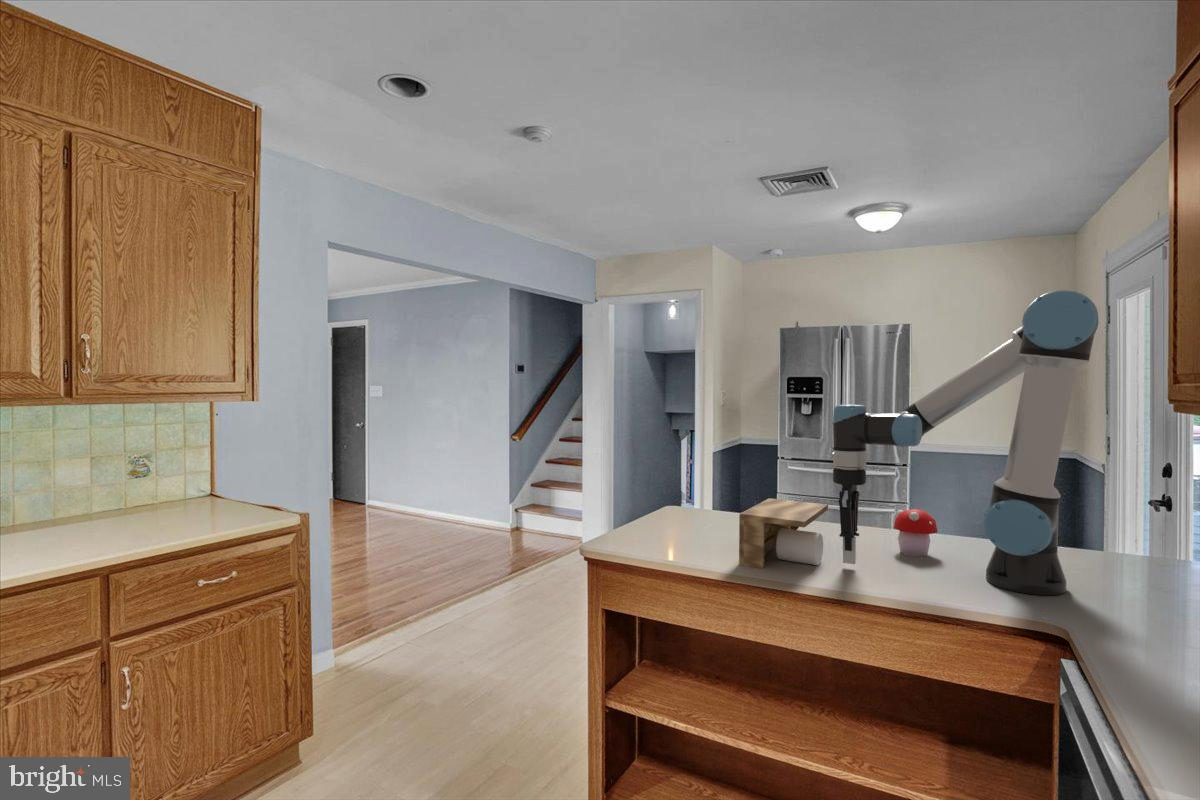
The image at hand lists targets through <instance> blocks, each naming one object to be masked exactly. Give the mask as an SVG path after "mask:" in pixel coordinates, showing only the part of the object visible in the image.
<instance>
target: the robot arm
mask: <svg viewBox="0 0 1200 800" xmlns="http://www.w3.org/2000/svg"><path fill="white" fill-rule="evenodd" d="M1021 319H1022V320H1021V321H1022V323H1021V324H1022V326H1020V327H1019V328H1017V329H1016V330H1014V331H1013V333H1012V337H1011V339H1009V340H1007V341H1006V342H1004V343H1003V344H1001V345H1000V346H998V347H997V348H995V349H994V350H992V351H990V352H989V353H987V354H986V355H985V356H983V357H982V358H980V359H978V360H977V361H976V362H974V363H972V364H971V365H969V366H968V367H966V368H965V369H963V370H962V371H960V372H958V374H956V375H954V376H953V377H951V378H950V379H948V380H947V381H945V382H944V383H942V384H941V385H939V386H938V387H936V388H935V389H933V390H932V391H930V392H928V393H927V394H925V395H924V396H923V397H921V398H919V399H918V400H917V401H915V402H914V403H912V404H911V405H909V406H907V407H906V408H904V409H903V410H901V411H899V412H894V413H870V412H868V410H867V407H866V406H865V405H863V404H838V405H836V406H835V407H834V409H833V413H832V414H833V417H832V437H833V438H832V443H833V445H832V449H833V450H832V452H831V454H830V457H832V459H833V462H832V463H833V466H835V467H833V469H832V481H833V483H834V484H836V485H841V490H840V491H839V496H838V497H839V498H838V506H839V520H840V533H839V537H841V538H842V564H848V565H849V564H850V565H856V562H857V561H856V559H857V558H856V555H857V553H856V551H857V543H856V542H857V541H856V539H857V537H859V536H860V533H859V532H858V529H859V528H858V524H859V523H858V519H859V501H860V494H861V493H860V490H858V487H857V486H864V485H865V484H866V483H867V470H866V469H865V467H866V466H867V447H866V446H867V445H879V446H891V447H892V446H893V447H894V446H897V447H901V448H904V447H917V446H918V445H920V443H921V440H922V439H923V438H922V437H924V435H926V434H927V433H928V432H930V431H931V430H933V429H935V428H936V427H937V426H939V425H941V424H943V423H944V422H945V421H947V420H949V419H950V418H952V417H954V416H955V415H956V414H958V413H960V412H962V411H963V410H964V409H966V408H968V407H970V406H972V405H973V404H975V403H976V402H978V401H980V400H981V399H982V398H984V397H986V396H988V395H989V394H991V393H992V392H994V391H995V390H997V389H999V388H1000V387H1001V386H1003V385H1005V384H1007V383H1008V382H1010V381H1012V380H1013V379H1015V378H1017V377H1018V376H1020V375H1021V374H1023V379H1022V383H1021V388H1020V394H1019V397H1018V398H1019V399H1018V404H1017V407H1016V408H1017V409H1016V414H1015V419H1014V424H1013V429H1012V434H1011V440H1010V444H1009V450H1008V455H1007V460H1006V465H1005V470H1004V475H1003V476H1001V478H999V479H997V480H996V481H994V483H993V488H992V492H991V497H990V502H989V507H988V509H987V510H986V512H985V513H984V516H983V527H984V533H985V534H986V536H987V538H988V540H989V541H990V542H991V543H992V544H993V545H994V550H993V552H992V555H991V557H990V560H989V561H988V564H987V567H986V569H985V580H986V581H987V582H989V583H990V584H992V585H994V586H996V587H998V588H1002V589H1005V590H1008V591H1012V592H1016V593H1023V594H1027V595H1028V594H1029V595H1037V596H1038V595H1039V596H1060V595H1063V594H1065V593H1066V592H1067V577H1066V576H1065V573H1064V570H1063V567H1062V565H1061V562H1060V559H1059V554H1058V547H1059V546H1058V544H1059V542H1058V541H1059V515H1060V514H1059V512H1060V511H1059V510H1060V509H1059V508H1060V502H1061V498H1062V497H1061V494H1060V492H1059V490H1058V489H1057V488H1056V487H1055V486H1054V484H1055V479H1056V475H1057V471H1058V466H1059V460H1060V456H1061V451H1062V447H1063V441H1064V436H1065V432H1066V427H1067V421H1068V418H1069V413H1070V407H1071V404H1072V398H1073V392H1074V387H1075V382H1076V377H1077V374H1078V373H1077V372H1078V370H1079V369H1080V368H1082V367H1083V366H1086V364H1088V363H1089V362H1090V357H1091V353H1092V347H1093V344H1094V338H1095V334H1096V332H1097V330H1098V326H1099V312H1098V309H1097V306H1096V305H1095V303H1094V302H1093V301H1092V300H1091V298H1089V297H1088V296H1086V295H1084V294H1083V293H1081V292H1077V291H1072V290H1066V289H1065V290H1053V291H1050V292H1046V293H1044V294H1042V295H1040V296H1039V297H1037V298H1035V299H1034V300H1033V301H1032V302H1031V303H1030V304H1029V305H1028V306H1027V308H1026V309H1025V311H1024V313H1023V315H1022V318H1021Z"/></svg>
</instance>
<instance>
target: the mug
mask: <svg viewBox="0 0 1200 800" xmlns="http://www.w3.org/2000/svg"><path fill="white" fill-rule="evenodd" d="M775 553H776V554H775V555H776V557H777V559H778V560H782V561H789V562H795V563H801V564H807V565H811V566H812V565H814V566H819V565H820V564H821V562H822V559H823V555H824V538H823V534H822V533H821V532H814V531H808V530H800V529H797V530H792V529H785V528H781V529H780V530H779V532H778V535H777V540H776V547H775Z"/></svg>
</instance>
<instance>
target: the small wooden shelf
mask: <svg viewBox="0 0 1200 800" xmlns="http://www.w3.org/2000/svg"><path fill="white" fill-rule="evenodd" d="M828 510H829V504H825V503H817V502H809V501H807V502H806V501H796V500H788V499H780V498H779V499H778V498H767V499H765V500H763V501H761V502H759V503H757V504H756V505H754V506H752V507H749V508H748V509H746V510H744V511H742V512H740V513H739V517H738V518H739V522H738V523H739V528H738V529H739V533H738V538H739V539H738V548H739V549H738V565H739V566H744V567H745V566H746V567H750V568H751V567H752V568H756V569H764V568H765V555H766V554H768V553H769V552H770V551H772V550H773V549H775V548H776V540H777V535H778V532H779V530H780V529H781V528H785V529H790V526H796V527H799V528H806V527H807V526H809V525H810V524H811V523H812V522H814V521H815V520H817V519H818V518H819V517H821V516H822V515H823V514H825V512H827V511H828Z"/></svg>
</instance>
